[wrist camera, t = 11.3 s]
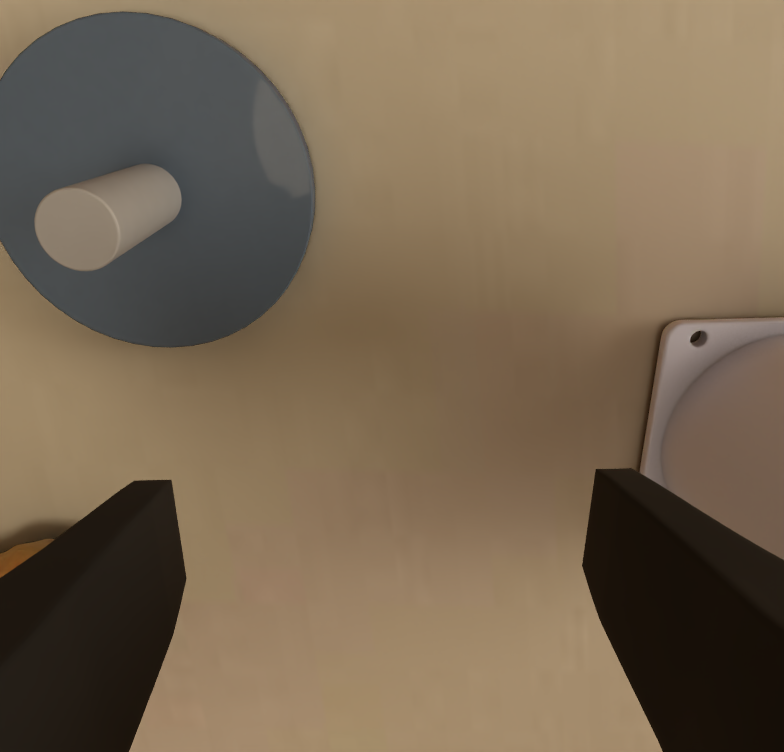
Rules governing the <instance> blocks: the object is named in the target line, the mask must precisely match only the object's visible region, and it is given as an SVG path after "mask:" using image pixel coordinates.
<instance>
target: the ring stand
mask: <svg viewBox="0 0 784 752" xmlns="http://www.w3.org/2000/svg"><path fill="white" fill-rule="evenodd" d="M314 212H315V184H314V175H313V167H312V163H311V159H310V155H309V151H308V147H307V145H306V142H305V139H304V137H303V134H302V131H301V129H300V126H299V124H298V122H297V121H296V119H295V117H294V115H293V113H292V111H291V109H290V107H289V106H288V104H287V103H286V101H285V100H284V98H283V97H282V95H281V94H280V93H279V91H278V90H277V88H276V87H275V86H274V85H273V84H272V82H271V81H270V80H269V79H268V78H267V77H266V76H265V75H264V73H263V72H262V71H261V70H260V69H259V68H258V67H257V66H255V65H254V64H253V63H252V62H251V61H250V60H249V59H247V58H246V57H245V56H244V55H243V54H242V53H240V52H239V51H237V50H236V49H234V48H233V47H231V46H230V45H228V44H227V43H226V42H224V41H222V40H220V39H219V38H217V37H215V36H213V35H211V34H209V33H207V32H205V31H203V30H201V29H199V28H196V27H194V26H191V25H188V24H186V23H183V22H180V21H177V20H174V19H172V18H167V17H163V16H158V15H153V14H148V13H137V12H111V13H99V14H95V15H91V16H86V17H82V18H78V19H75V20H73V21H70V22H68V23H65V24H63V25H60V26H58V27H56V28H54V29H52V30H51V31H49V32H47V33H46V34H44V35H43V36H41V37H39V38H38V39H36V40H35V41H34V42H33V43H32V44H31V45H29V46H28V47H27V48H26V49H25V50H24V51H22V52H21V53H20V54H19V55H18V57H17V58H16V59H15V60H14V61H13V63H12V64H11V65H10V66H9V67H8V69H7V70H6V71H5V73H4V75H3V76H2V78H1V80H0V241H1V242H2V244H3V246H4V247H5V249H6V251H7V252H8V254H9V256H10V257H11V259H12V261H13V262H14V263H15V265H16V266H17V267H18V269H19V270H20V271H21V273H22V274H23V275H24V277H25V278H26V279H27V280H28V281H29V282H30V283H31V284H32V285H33V286H34V287H35V288H36V290H37V291H38V292H39V293H40V294H41V295H42V296H44V297H45V298H46V299H47V300H48V301H49V302H51V303H52V304H53V305H54V306H55V307H57V308H58V309H59V310H61V311H62V312H64V313H65V314H67V315H68V316H69V317H71V318H72V319H74V320H75V321H77V322H79V323H81V324H83V325H85V326H87V327H88V328H90V329H92V330H94V331H97V332H99V333H102V334H104V335H107V336H109V337H112V338H114V339H118V340H122V341H125V342H129V343H133V344H139V345H145V346H152V347H185V346H194V345H199V344H203V343H208V342H212V341H215V340H218V339H221V338H223V337H226V336H229V335H231V334H233V333H235V332H237V331H239V330H241V329H243V328H245V327H246V326H248V325H249V324H251V323H252V322H254V321H255V320H256V319H258V318H259V317H261V316H262V315H263V314H264V313H265V312H266V311H267V310H268V309H269V308H271V307H272V306H273V305H274V304H275V303H276V301H277V300H278V299H279V298H280V297H281V295H282V294H283V293H284V292H285V290H286V289H287V288H288V286H289V284H290V283H291V281H292V280H293V278H294V276H295V275H296V273H297V271H298V269H299V266H300V264H301V262H302V259H303V257H304V255H305V252H306V249H307V245H308V242H309V238H310V235H311V231H312V226H313V219H314Z"/></svg>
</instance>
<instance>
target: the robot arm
mask: <svg viewBox="0 0 784 752" xmlns="http://www.w3.org/2000/svg"><path fill="white" fill-rule="evenodd" d="M700 330H701V336H700V338H699V339H698V340H697V341H696V342H692V343H690V338H691V336H692V335H693V334H694V333H695V332H697V331H700ZM582 567H583V570H584V573H585V576H586V580H587V583H588V586H589V589H590V593H591V596H592V599H593V602H594V604H595V607H596V610H597V613H598V616H599V619H600V621H601V623H602V625H603V628H604V630H605V632H606V634H607V636H608V638H609V640H610V642H611V644H612V647H613V649H614V651H615V653H616V655H617V657H618V659H619V661H620V663H621V665H622V667H623V669H624V672H625V674H626V676H627V678H628V680H629V682H630V684H631V686H632V688H633V690H634V692H635V694H636V696H637V698H638V700H639V702H640V704H641V706H642V709H643V711H644V713H645V715H646V717H647V719H648V721H649V723H650V725H651V727H652V729H653V731H654V733H655V735H656V737H657V739H658V741H659V744H660V746H661V748H662V751H663V752H784V317H774V318H735V319H697V320H677V321H673V322H672V323H670V324H668V325H667V326H666V328H665V329H664V330H663V333H662V335H661V341H660V347H659V353H658V360H657V366H656V372H655V378H654V385H653V391H652V397H651V403H650V409H649V416H648V422H647V428H646V434H645V441H644V447H643V453H642V459H641V465H640V472H637V471H635V470H633V469H631V468H626V469H596V472H595V479H594V486H593V493H592V500H591V507H590V514H589V521H588V528H587V535H586V543H585V550H584V557H583V564H582ZM185 582H186V572H185V566H184V559H183V553H182V546H181V540H180V533H179V527H178V520H177V514H176V507H175V501H174V494H173V488H172V481H171V480H144V481H133V482H132V483H130V484H129V485H127V486H126V487H124V488H123V489H121V490H120V491H119V492H117V493H116V494H115V495H113V496H112V497H111V498H109V499H108V500H107V501H105V502H104V503H103V504H101V505H100V506H99V507H97V508H96V509H95V510H93V511H92V512H91V513H90V514H88V515H87V516H86V517H84V518H83V519H82V520H80V521H79V522H78V523H76V524H75V525H74V526H72V527H71V528H70V529H68V530H67V531H66V532H64V533H63V534H62V535H60V536H59V537H58V538H56V539H55V540H54V541H52V542H51V543H50V544H48V545H47V546H46V547H44V548H43V549H41V550H40V551H39V552H37V553H36V554H34V555H33V556H31V557H30V558H28V559H27V560H26V561H24V562H23V563H21V564H20V565H18V566H17V567H15V568H14V569H12V570H11V571H10V572H8V573H7V574H5V575H4V576H2V577H1V578H0V752H129V750H130V748H131V745H132V742H133V740H134V737H135V734H136V732H137V729H138V727H139V724H140V721H141V719H142V716H143V713H144V711H145V708H146V706H147V703H148V700H149V698H150V695H151V693H152V690H153V687H154V685H155V682H156V679H157V677H158V674H159V671H160V669H161V666H162V663H163V661H164V658H165V655H166V653H167V650H168V647H169V645H170V642H171V639H172V636H173V633H174V629H175V625H176V621H177V617H178V613H179V609H180V605H181V600H182V596H183V591H184V587H185Z"/></svg>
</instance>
